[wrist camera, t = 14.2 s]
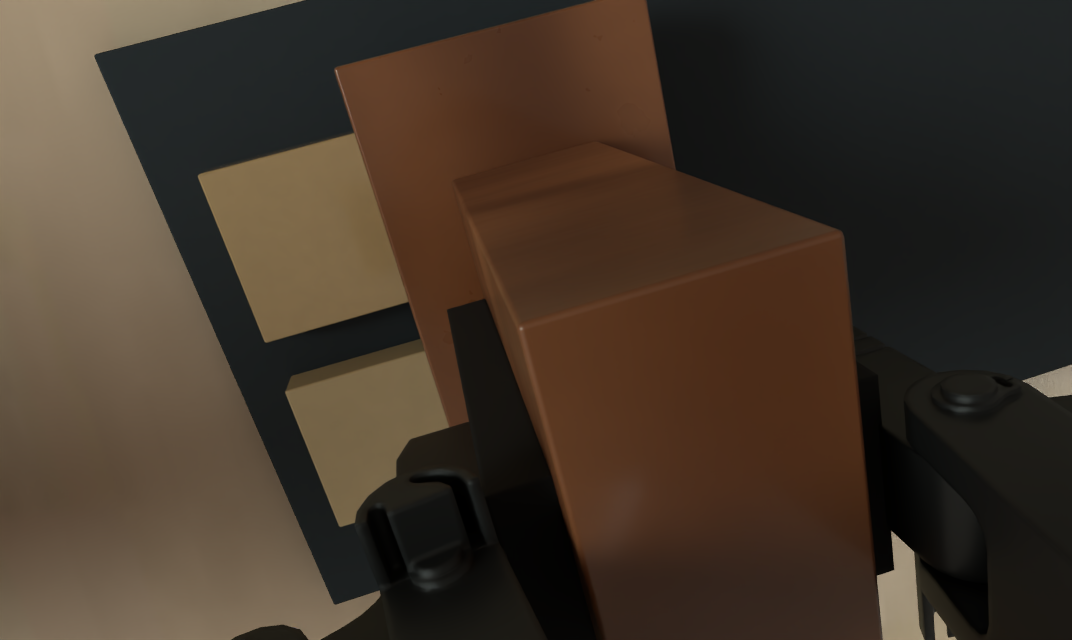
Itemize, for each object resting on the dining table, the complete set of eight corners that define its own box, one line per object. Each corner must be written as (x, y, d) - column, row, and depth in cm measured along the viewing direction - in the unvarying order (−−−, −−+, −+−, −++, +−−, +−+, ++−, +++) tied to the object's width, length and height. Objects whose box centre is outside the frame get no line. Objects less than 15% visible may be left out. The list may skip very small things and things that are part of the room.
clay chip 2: (341, 506, 20) (339, 528, 19) (290, 375, 18) (283, 391, 18) (485, 463, 20) (489, 481, 19) (444, 330, 19) (447, 344, 18)
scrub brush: (485, 510, 21) (585, 1035, 9) (345, 68, 16) (224, 63, 5) (688, 447, 21) (1013, 874, 10) (602, 1, 17) (997, -133, 6)
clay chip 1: (271, 330, 18) (264, 343, 17) (207, 169, 17) (195, 174, 16) (431, 284, 18) (432, 295, 17) (381, 123, 17) (379, 126, 16)
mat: (335, 591, 21) (334, 605, 21) (102, 54, 16) (92, 54, 16) (1080, 349, 23) (1097, 356, 23) (1090, -199, 18) (1112, -208, 17)
